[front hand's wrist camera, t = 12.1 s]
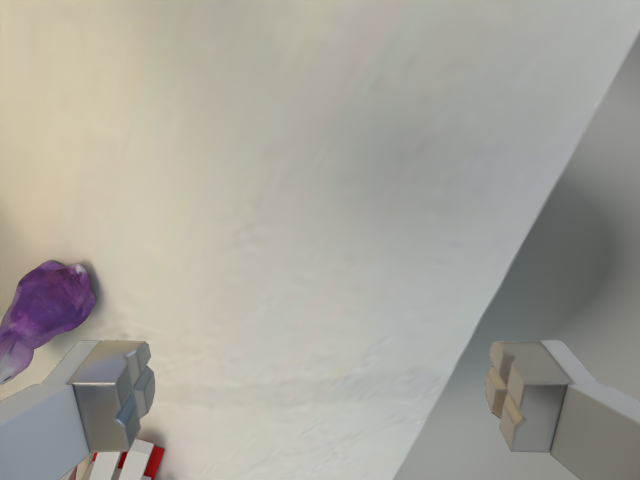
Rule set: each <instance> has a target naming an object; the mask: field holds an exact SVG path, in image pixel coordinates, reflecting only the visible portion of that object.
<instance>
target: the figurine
mask: <svg viewBox="0 0 640 480" xmlns="http://www.w3.org/2000/svg"><path fill="white" fill-rule="evenodd" d="M95 302H96V299H95V296H94V294H93V293H92V290H91V286H90V281H89V277H88V273H87V271H86V270H85V269H84V267H83V266H81V265H80V264H73V265H71V266H68V267H67V266H64V265H60V264H58V263H56V262H53V261H47V262H45V263H43V264H41V265H40V266H39V267H38V268H36V269H34V270H32V271H31V272H29V273H28V274H26V275H25V276H24V277H23V278H22V279H21V280H20V282H19V283H18V286H17V289H16V293H15V297H14V299H13V302H12V304H11V306H10V307H9V309H8V310H7V312H6V314H5V316H4V318H3V320H2V323H1V326H0V385H2V384H4V383H6V382H8V381H10V380H12V379H13V378H14V377H15V376H16V375H17V374H19V373H20V372H22V371H23V370H25V369H26V368H27V367H28V366H29V364H30V363H31V361H32V358H33V354H34V349H36V348H38V347H40V346H42V345H44V344H46V343H47V342H49V341H50V340H51V339H52V338H53V337H54V336H55V335H58V334H60V333H63V332H66V331H71V330H73V329H75V328H76V327H78V326H79V325H80V324H82V323H83V322H84V321H85V320H86V318H87V317H88V315H89V314H90V312H91V310H92V308H93V307H94V305H95Z"/></svg>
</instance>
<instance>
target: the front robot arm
mask: <svg viewBox="0 0 640 480" xmlns="http://www.w3.org/2000/svg"><path fill="white" fill-rule="evenodd" d="M489 357H490V359H491V361H492V363H493V366H492V367H491V368H490V369H489V370H488V371H487V372H486V378H485V393H486V399H487V402H488V405H489V408H490V410H491V412H492V413H493V414H494V415H495V416H497V417H498V418H500V419H501V421H500V427H499V428H500V430H501V432H502V434H503V436H504V438H505V440H506V443H507V445H508V447H509V449H510V450H511V452H547V453H550V455H551V456H553V457H554V458H555V459H556V460H557V461H559V462H560V463H561V464H562V465H563V466H565V467H566V468H567V469H568V470H569V471H570V472H572V473H573V474H574V475H575V476H576V477H577V478H579V479H580V480H640V401H638V400H636V399H634V398H632V397H630V396H628V395H626V394H624V393H622V392H620V391H618V390H616V389H614V388H612V387H610V386H608V385H599V383H598V382H597V381H596V380H595V379H594V378H593V377H592V375H591V374H590V373H589V372H588V371H587V370H586V368H585V367H584V366H583V365H582V364H581V363H580V362H579V360H578V359H577V358H576V357H575V356H574V355H573V354H572V352H571V351H570V350H569V349H568V348H567V347H566V345H565V344H564V343H563V342H561V341H559V340H542V341H513V342H493V344H492V346H491V348H490V354H489ZM150 358H151V354H150V349H149V345H148V344H147V343H146V342H145V341H110V340H104V341H102V340H83V341H79V342H77V343H76V344H75V345H74V347H73V348H72V349H71V350H70V351H69V352H68V353H67V355H66V356H65V357H64V358H63V359H62V360H61V362H60V363H59V364H58V365H57V366H56V367H55V368H54V370H53V371H52V372H51V373H50V374H49V375H48V377H47V378H46V379H45V380H44V381H43V382H42V383H41V385H32V386H30V387H28V388H26V389H24V390H22V391H20V392H18V393H16V394H14V395H12V396H10V397H8V398H6V399H4V400H2V401H0V480H60V479H61V478H63V477H64V476H65V475H66V474H67V473H69V472H70V471H71V470H72V469H73V468H75V467H76V466H77V465H78V464H79V463H80V462H82V461H83V460H84V459H85V458H86V457H88V456H89V455H90V453H93V452H128V451H130V449H131V447H132V445H133V443H134V441H135V439H136V437H137V434H138V432H139V430H140V428H141V427H140V421H139V419H140V418H142V417H143V416H145V415H146V414H147V413H148V412H149V410H150V408H151V405H152V403H153V398H154V393H155V377H154V372H153V371H152V370H151V369H150V368H149V367H148V366H147V363H148V361H149V359H150Z"/></svg>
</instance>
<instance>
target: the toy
mask: <svg viewBox="0 0 640 480" xmlns="http://www.w3.org/2000/svg"><path fill="white" fill-rule="evenodd" d="M163 452H164V449H162V448H158V447H155V446H154V444H153V443H149V442H146V441H142V440H139V439H135V441H134V443H133V445H132V447H131V449H130V451H128V452H95V453H94V457H93V460H92V463H91V464H90V466H89V468H88V469H87V471H86V473H85V474H84V476H83V477H82V479H81V480H154V478H155V475H156V473H157V470H158V467H159V464H160V461H161V458H162V455H163ZM76 472H77V466H76V467H75V468H73V469H72V470H71V471H70V472H69V473H67V475H66V476H65V478H64V480H75V479H76Z"/></svg>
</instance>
